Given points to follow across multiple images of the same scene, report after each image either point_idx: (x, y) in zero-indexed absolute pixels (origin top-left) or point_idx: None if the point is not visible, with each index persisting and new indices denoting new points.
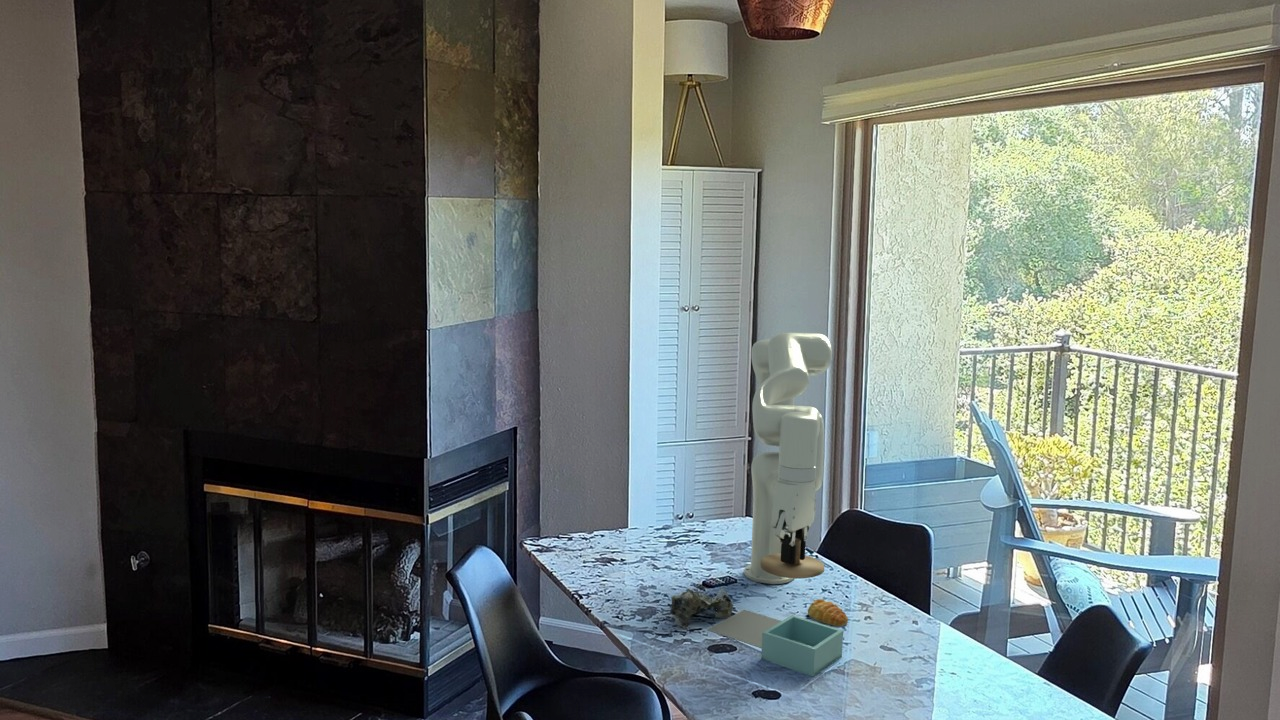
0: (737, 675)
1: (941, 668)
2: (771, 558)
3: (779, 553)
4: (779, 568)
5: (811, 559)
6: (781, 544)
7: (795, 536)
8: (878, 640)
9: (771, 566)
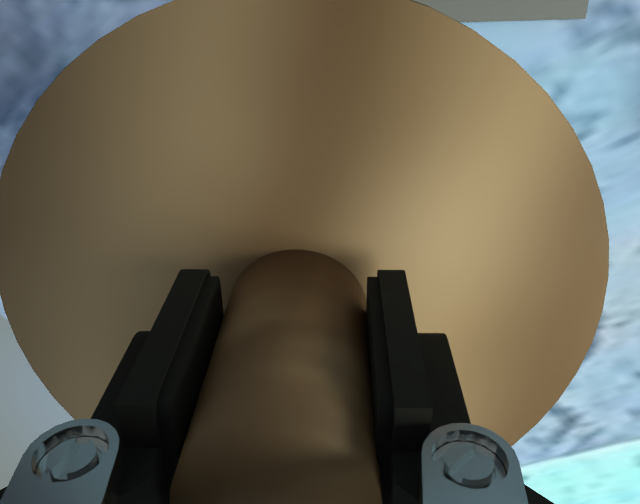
0: (5, 64)
1: (527, 476)
2: (275, 81)
3: (501, 53)
4: (90, 297)
5: (519, 371)
6: (126, 386)
7: (401, 498)
8: (634, 293)
9: (69, 219)
